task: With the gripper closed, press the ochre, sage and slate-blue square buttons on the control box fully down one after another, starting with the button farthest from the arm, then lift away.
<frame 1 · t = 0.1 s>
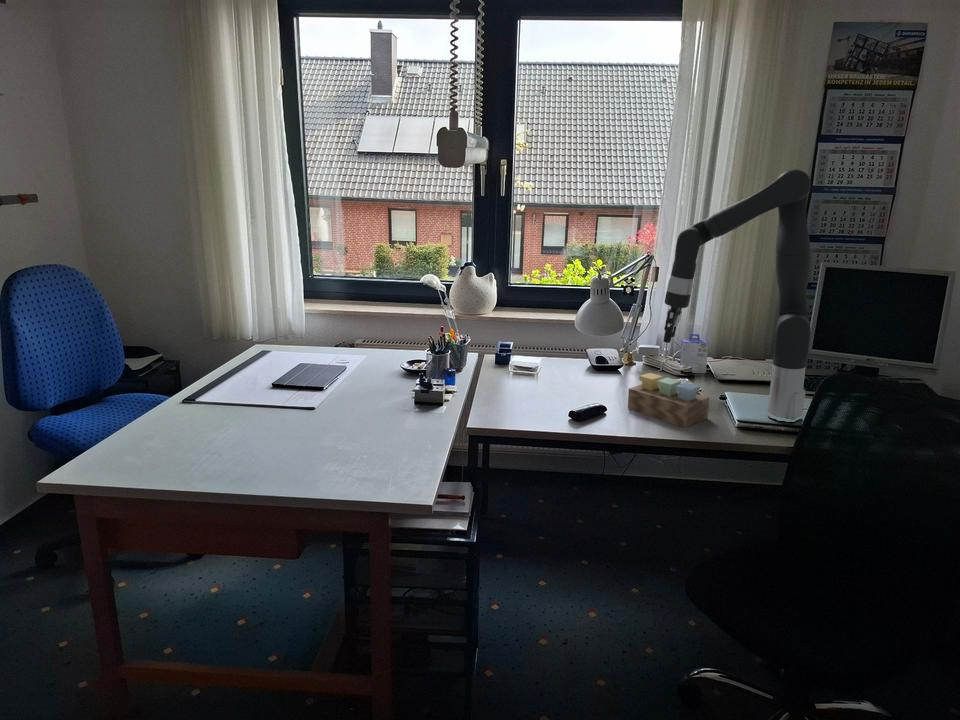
hand: (668, 339, 215), 22 cm above the table, tool pointing down, fingers open, 8 cm apart
control box: (666, 413, 213), on the table
button slate: (687, 396, 206), point 7 cm above the table, slide at 0.0 cm
ink cartridge box: (692, 371, 257), on the table
button ochre: (650, 386, 216), point 7 cm above the table, slide at 0.0 cm
button sage: (668, 391, 211), point 7 cm above the table, slide at 0.0 cm
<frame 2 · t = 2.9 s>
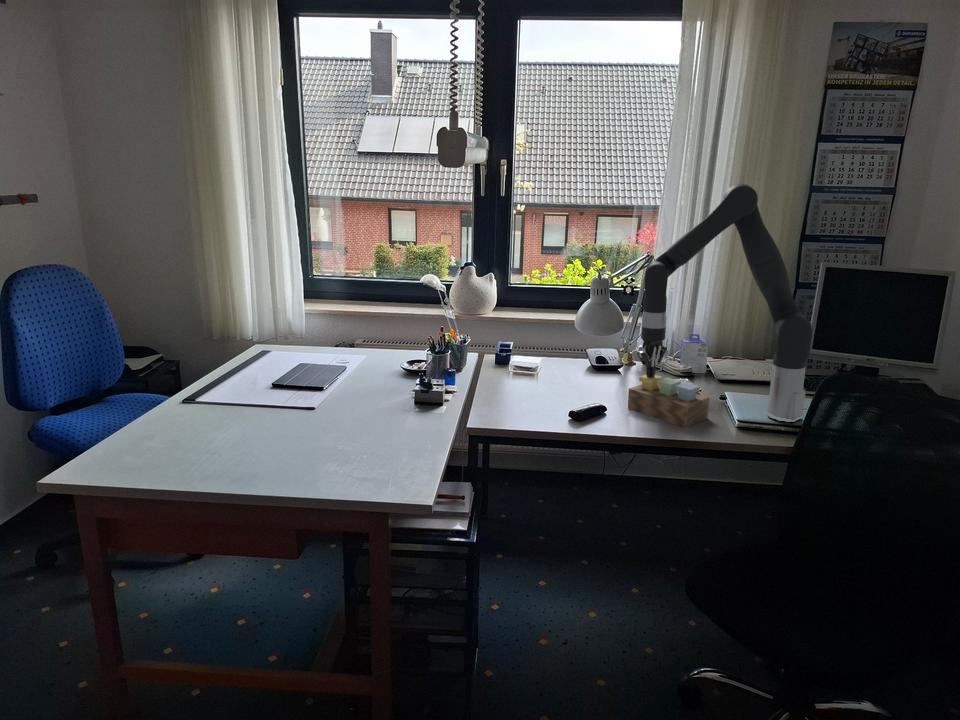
hand: (650, 376, 215), 11 cm above the table, tool pointing down, fingers closed
button ochre: (650, 386, 216), point 7 cm above the table, slide at 0.3 cm, touching gripper
everything else where it was.
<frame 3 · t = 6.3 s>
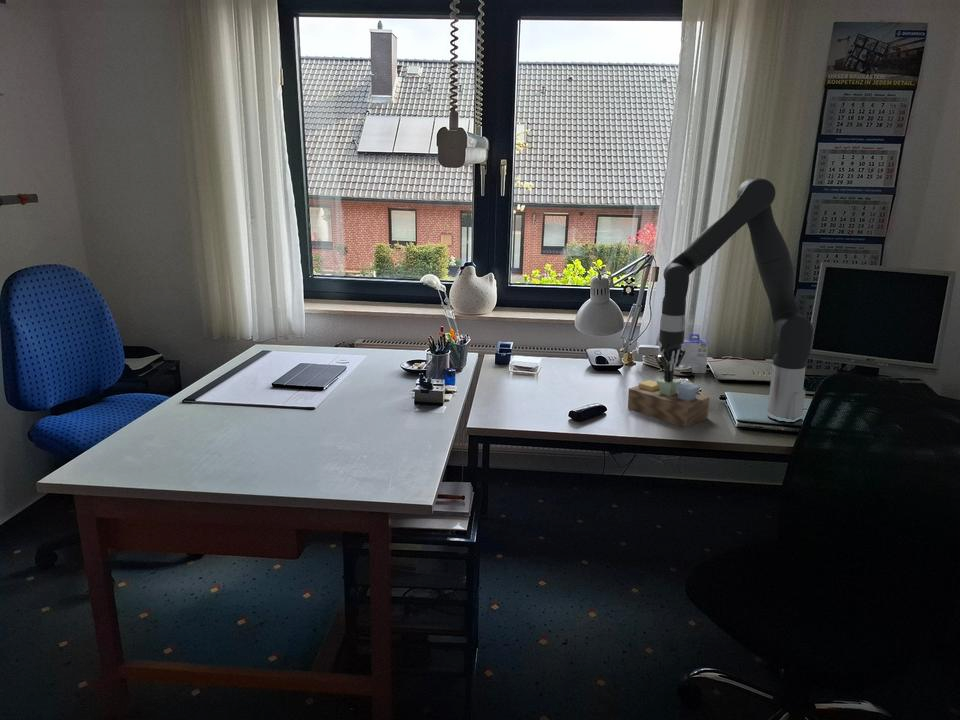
hand: (668, 381, 210), 11 cm above the table, tool pointing down, fingers closed
button ochre: (649, 393, 217), point 5 cm above the table, slide at 2.5 cm
button sage: (668, 391, 211), point 7 cm above the table, slide at 0.1 cm, touching gripper
everything else where it was.
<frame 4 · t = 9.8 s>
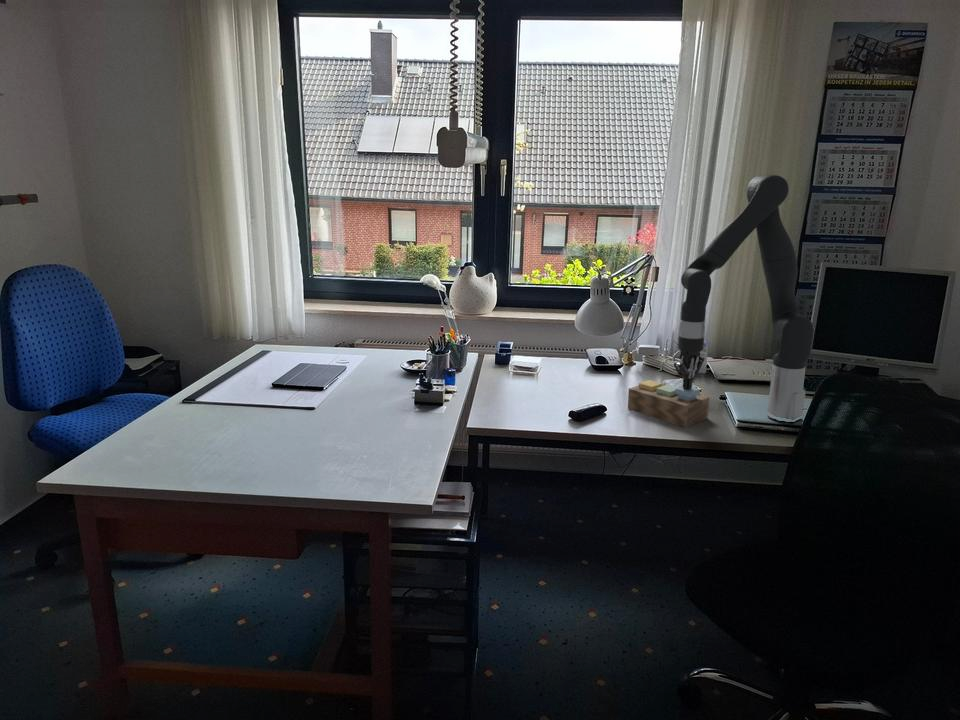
hand: (687, 388, 205), 10 cm above the table, tool pointing down, fingers closed
button slate: (686, 399, 206), point 7 cm above the table, slide at 0.9 cm, touching gripper
button sage: (667, 398, 212), point 5 cm above the table, slide at 2.5 cm
everything else where it was.
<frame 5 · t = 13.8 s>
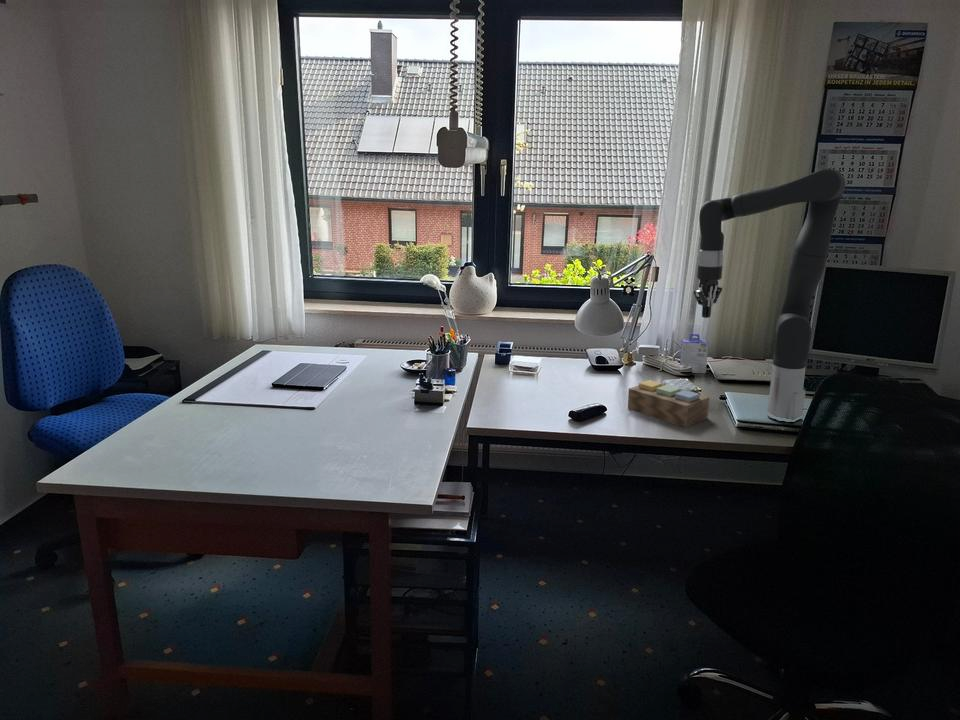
hand: (706, 317, 216), 29 cm above the table, tool pointing down, fingers closed
button slate: (686, 404, 206), point 5 cm above the table, slide at 2.5 cm
everything else where it was.
at the end: button ochre slide at 2.5 cm; button sage slide at 2.5 cm; button slate slide at 2.5 cm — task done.
